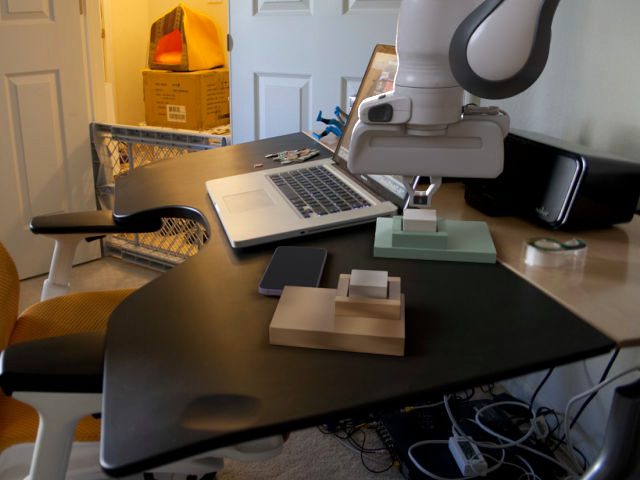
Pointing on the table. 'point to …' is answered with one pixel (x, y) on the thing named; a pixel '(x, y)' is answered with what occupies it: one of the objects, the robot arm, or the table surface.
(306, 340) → the wooden platform
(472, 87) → the robot arm
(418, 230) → the key back
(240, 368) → the table surface
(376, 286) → the key front
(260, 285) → the smartphone
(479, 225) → the tiered green tray
